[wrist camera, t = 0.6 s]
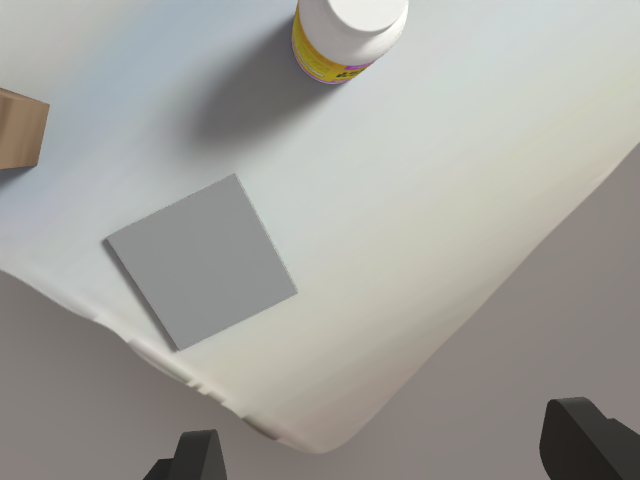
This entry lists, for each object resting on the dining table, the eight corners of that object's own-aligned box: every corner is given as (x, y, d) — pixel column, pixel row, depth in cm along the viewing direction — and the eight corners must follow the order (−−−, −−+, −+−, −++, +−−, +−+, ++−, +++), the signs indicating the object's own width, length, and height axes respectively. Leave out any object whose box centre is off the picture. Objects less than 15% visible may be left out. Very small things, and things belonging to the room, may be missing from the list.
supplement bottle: (324, 102, 34) (354, 79, 22) (274, 33, 32) (275, -34, 20) (387, 50, 34) (454, -2, 21) (339, -22, 32) (381, -125, 20)
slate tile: (110, 234, 35) (105, 237, 34) (235, 173, 35) (234, 174, 34) (182, 345, 38) (180, 350, 37) (297, 289, 38) (297, 293, 37)
